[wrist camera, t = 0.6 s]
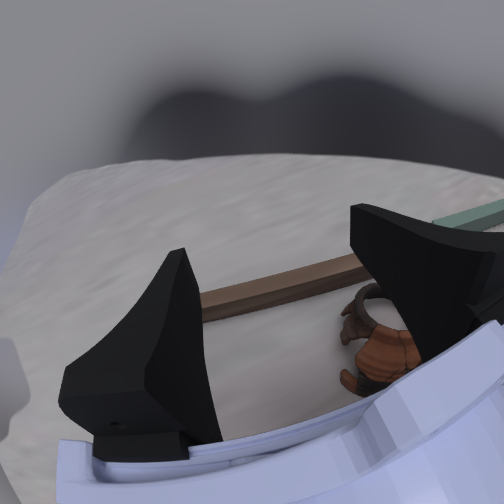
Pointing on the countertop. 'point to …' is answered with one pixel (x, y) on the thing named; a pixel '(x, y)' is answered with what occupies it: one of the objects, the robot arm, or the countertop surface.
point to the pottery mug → (376, 347)
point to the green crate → (475, 217)
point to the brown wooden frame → (282, 288)
